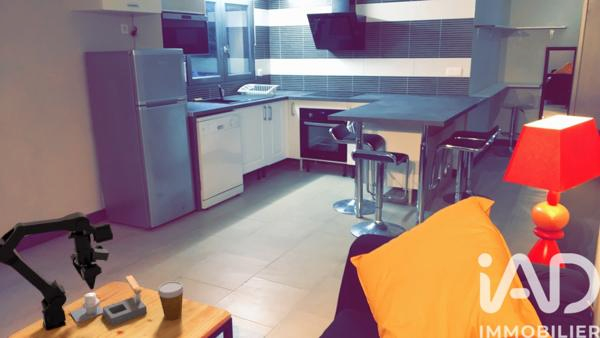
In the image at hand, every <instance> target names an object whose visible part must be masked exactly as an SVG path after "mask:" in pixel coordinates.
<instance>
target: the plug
mask: <svg viewBox="0 0 600 338" xmlns="http://www.w3.org/2000/svg"><path fill="white" fill-rule="evenodd" d="M83 298H84V299H83V301H82V304H81V306H82V308H86V313H87V314H94V313H96V312H97V311H98V310H97V306H98V305H99V306H100V299H99V298H97V294H96V293H95V292H88V293H86V294H84V296H83Z"/></svg>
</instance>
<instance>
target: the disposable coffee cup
mask: <svg viewBox="0 0 600 338" xmlns="http://www.w3.org/2000/svg"><path fill="white" fill-rule="evenodd" d="M184 289H185V287H184V285H183V283H182V282H180V281H176V280H174V281H172V280H171V281H166V282H164V283H161V284H160V285H159V287H158V289H157V293H158V296H159V300H160V303H161V308H162V311H163V312H162V313H163V316H164V318H165V319H166V320H168V321H170V320H171V321H174V320H177V319H179V318H180V317H182V313H183V311H182V310H183V298H184V297H183V294H184V291H185V290H184Z"/></svg>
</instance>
